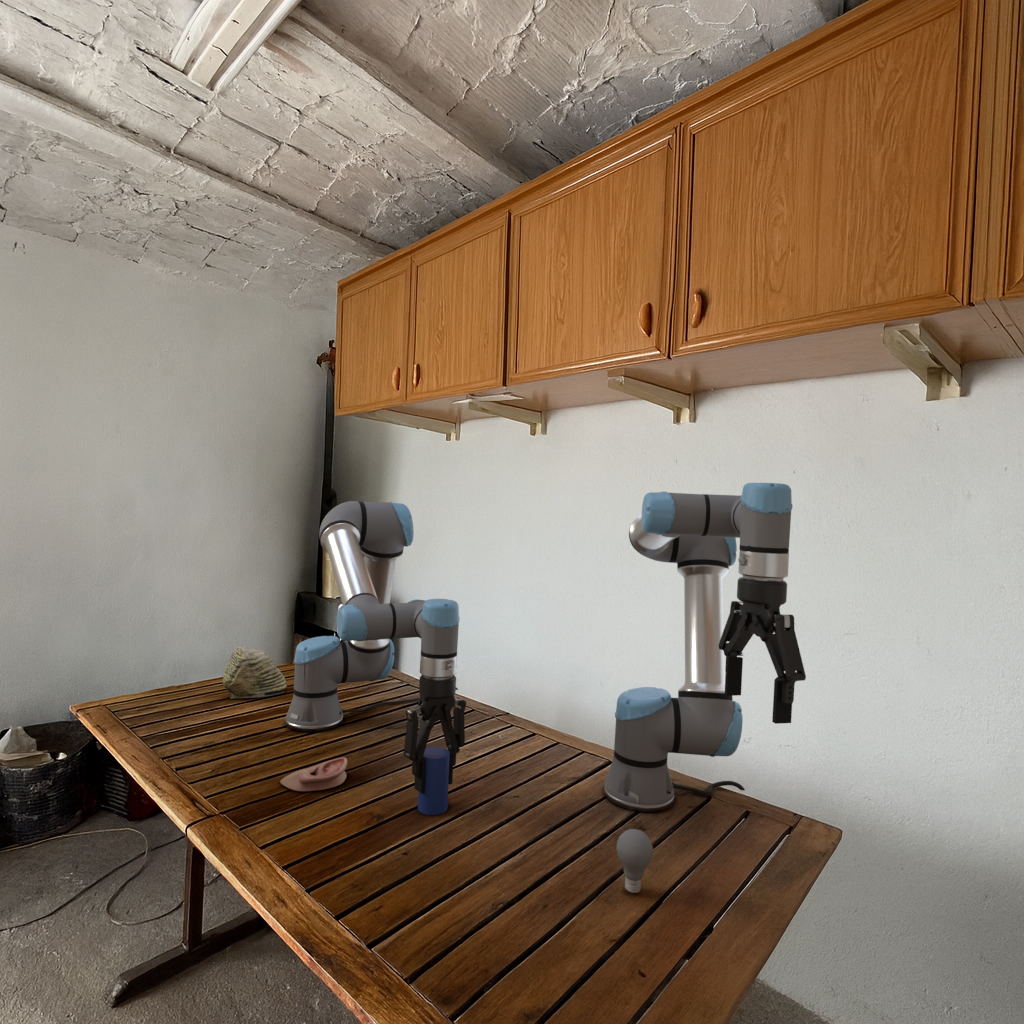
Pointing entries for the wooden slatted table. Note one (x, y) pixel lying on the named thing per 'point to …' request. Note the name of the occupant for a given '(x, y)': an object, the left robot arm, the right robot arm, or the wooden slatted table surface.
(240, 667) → the fossil
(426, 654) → the left robot arm
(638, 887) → the light bulb
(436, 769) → the canister
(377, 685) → the wooden slatted table surface
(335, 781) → the anatomical model
